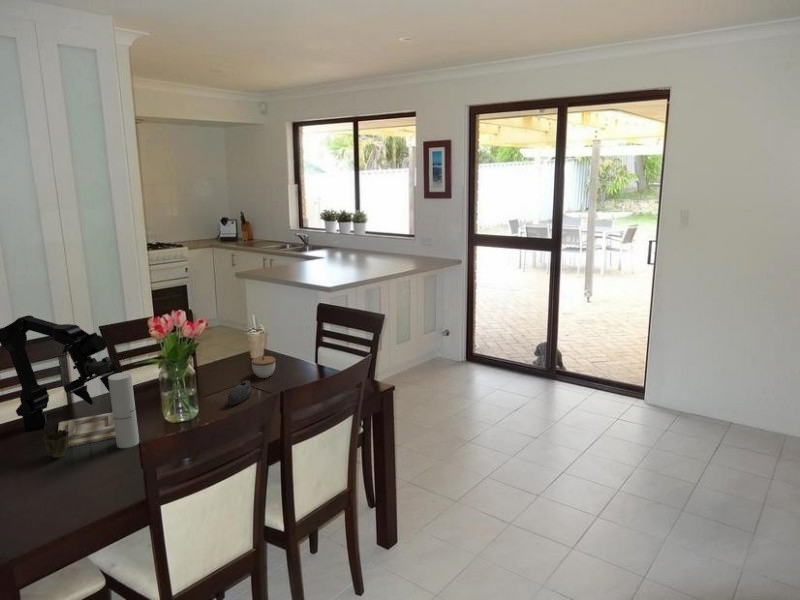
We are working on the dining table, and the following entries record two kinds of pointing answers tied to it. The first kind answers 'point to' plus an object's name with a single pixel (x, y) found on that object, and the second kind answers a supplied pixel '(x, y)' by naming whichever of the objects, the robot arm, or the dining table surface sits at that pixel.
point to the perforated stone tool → (239, 393)
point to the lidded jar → (263, 366)
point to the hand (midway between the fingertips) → (102, 398)
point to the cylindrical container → (123, 410)
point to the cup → (56, 443)
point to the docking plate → (89, 429)
